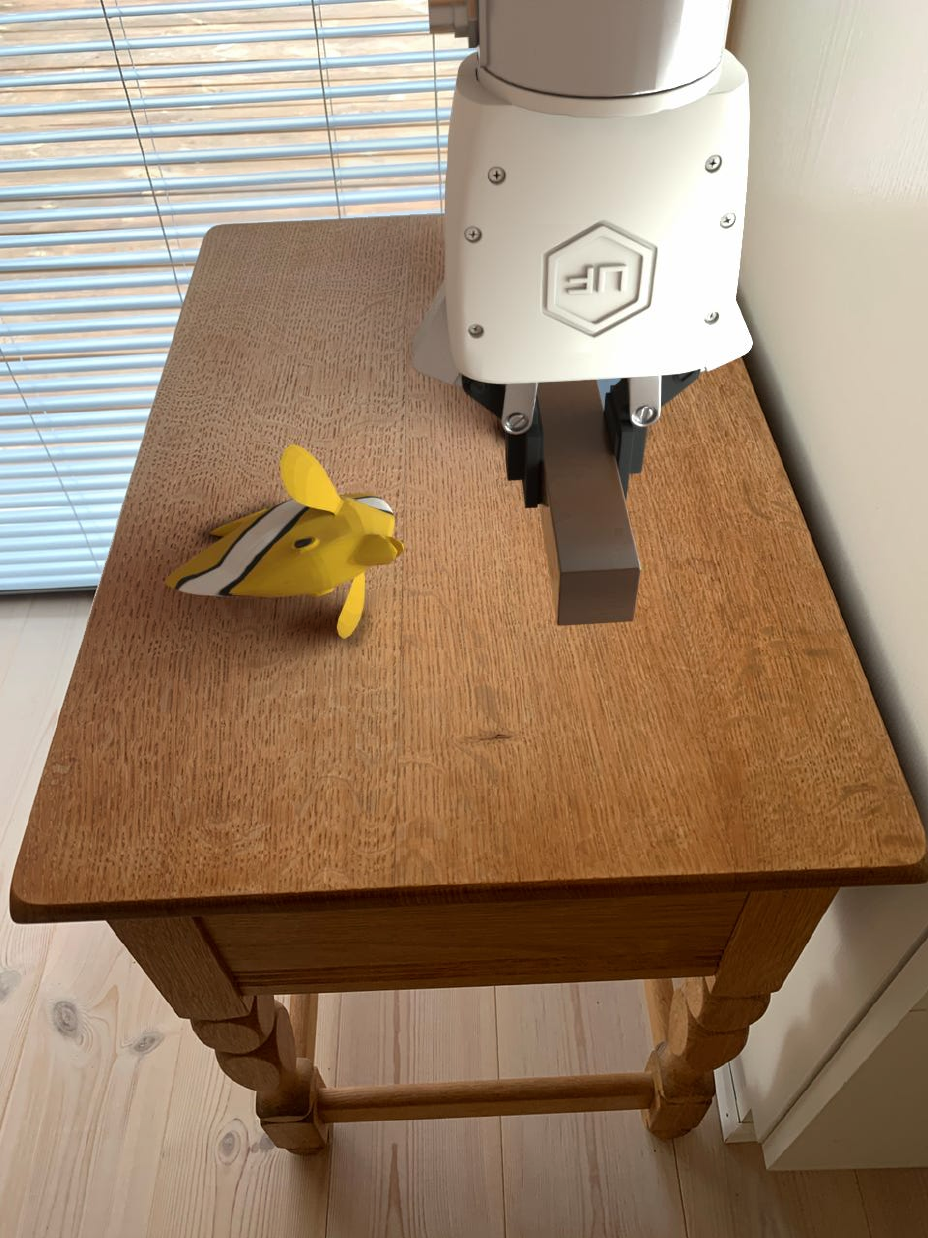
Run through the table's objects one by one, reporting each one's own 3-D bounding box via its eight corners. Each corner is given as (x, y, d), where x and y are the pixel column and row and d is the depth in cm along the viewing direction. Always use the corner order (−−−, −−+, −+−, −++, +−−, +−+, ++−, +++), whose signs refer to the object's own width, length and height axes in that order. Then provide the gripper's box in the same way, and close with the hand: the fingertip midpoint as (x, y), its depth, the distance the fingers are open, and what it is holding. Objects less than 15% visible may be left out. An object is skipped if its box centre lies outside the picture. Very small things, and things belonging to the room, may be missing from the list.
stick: (634, 622, 38) (641, 568, 36) (557, 626, 38) (560, 573, 36) (581, 380, 49) (585, 326, 47) (521, 383, 49) (521, 330, 47)
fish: (427, 419, 54) (171, 524, 49) (486, 617, 59) (259, 732, 54) (305, 400, 71) (103, 477, 65) (359, 556, 76) (176, 639, 70)
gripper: (322, 80, 27) (385, 555, 41) (915, 48, 27) (778, 533, 41) (333, -9, 32) (386, 441, 46) (835, -36, 32) (736, 421, 46)
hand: (571, 481), depth 43 cm, fingers closed on stick, 3 cm apart
